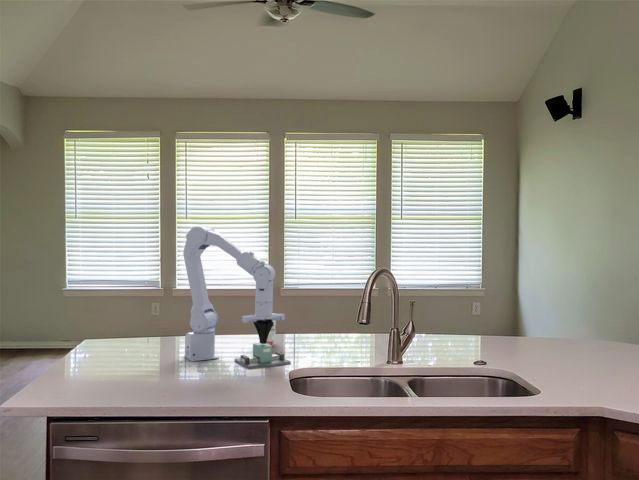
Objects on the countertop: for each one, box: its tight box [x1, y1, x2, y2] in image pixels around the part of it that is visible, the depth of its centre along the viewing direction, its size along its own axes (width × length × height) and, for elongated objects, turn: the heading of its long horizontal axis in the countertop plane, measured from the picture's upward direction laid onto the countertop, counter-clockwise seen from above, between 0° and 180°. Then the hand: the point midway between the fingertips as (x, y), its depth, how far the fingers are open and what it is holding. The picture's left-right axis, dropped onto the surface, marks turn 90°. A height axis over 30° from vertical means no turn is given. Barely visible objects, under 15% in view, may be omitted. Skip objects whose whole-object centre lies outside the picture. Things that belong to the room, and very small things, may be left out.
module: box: [252, 342, 273, 363], centre depth 179 cm, size 4×6×5 cm, turn 31°
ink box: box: [260, 313, 277, 348], centre depth 204 cm, size 9×5×12 cm, turn 177°
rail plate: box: [234, 350, 292, 370], centre depth 178 cm, size 15×11×3 cm
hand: (263, 343), depth 178 cm, fingers closed
